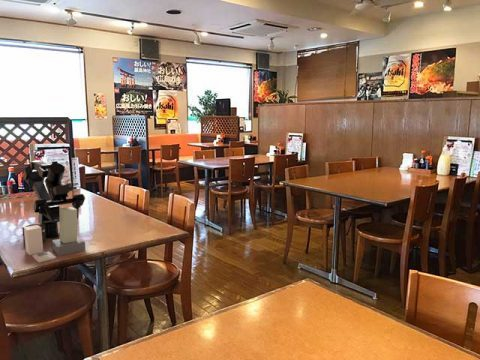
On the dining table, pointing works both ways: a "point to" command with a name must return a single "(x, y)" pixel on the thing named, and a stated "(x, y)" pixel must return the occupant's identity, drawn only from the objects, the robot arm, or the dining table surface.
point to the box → (41, 230)
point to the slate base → (68, 246)
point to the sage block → (68, 224)
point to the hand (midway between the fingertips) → (65, 220)
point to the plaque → (43, 257)
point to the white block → (33, 239)
